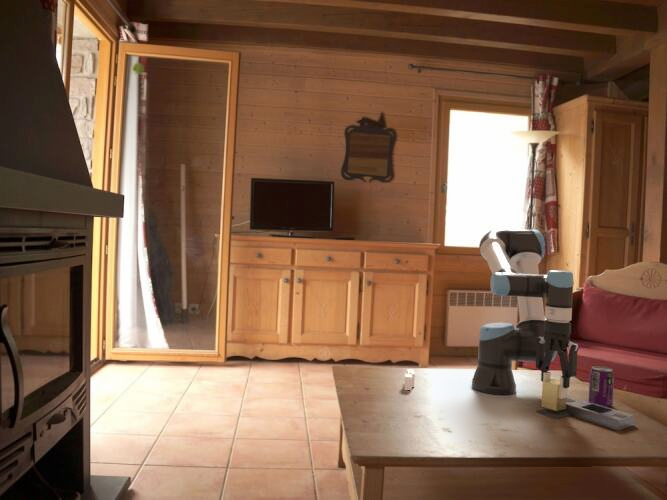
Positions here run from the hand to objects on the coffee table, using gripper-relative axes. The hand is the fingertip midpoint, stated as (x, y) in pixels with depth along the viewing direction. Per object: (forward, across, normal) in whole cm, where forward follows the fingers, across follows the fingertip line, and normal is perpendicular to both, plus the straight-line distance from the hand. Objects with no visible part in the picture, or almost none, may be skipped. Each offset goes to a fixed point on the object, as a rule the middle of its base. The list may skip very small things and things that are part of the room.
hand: (554, 395), depth 162 cm
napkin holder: (+6, -43, -22) cm, 48 cm away
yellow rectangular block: (+4, 0, 0) cm, 4 cm away
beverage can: (+6, +2, +23) cm, 24 cm away
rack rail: (+6, +7, +8) cm, 12 cm away
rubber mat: (+6, 0, 0) cm, 6 cm away
